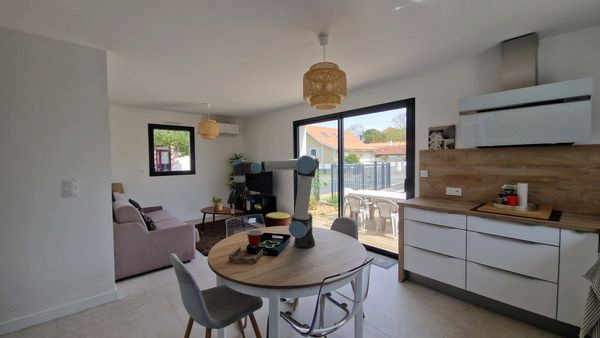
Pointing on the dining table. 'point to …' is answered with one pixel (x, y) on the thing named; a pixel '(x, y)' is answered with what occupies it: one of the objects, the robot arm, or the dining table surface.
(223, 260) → the dining table surface
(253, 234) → the plastic cup
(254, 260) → the frame
